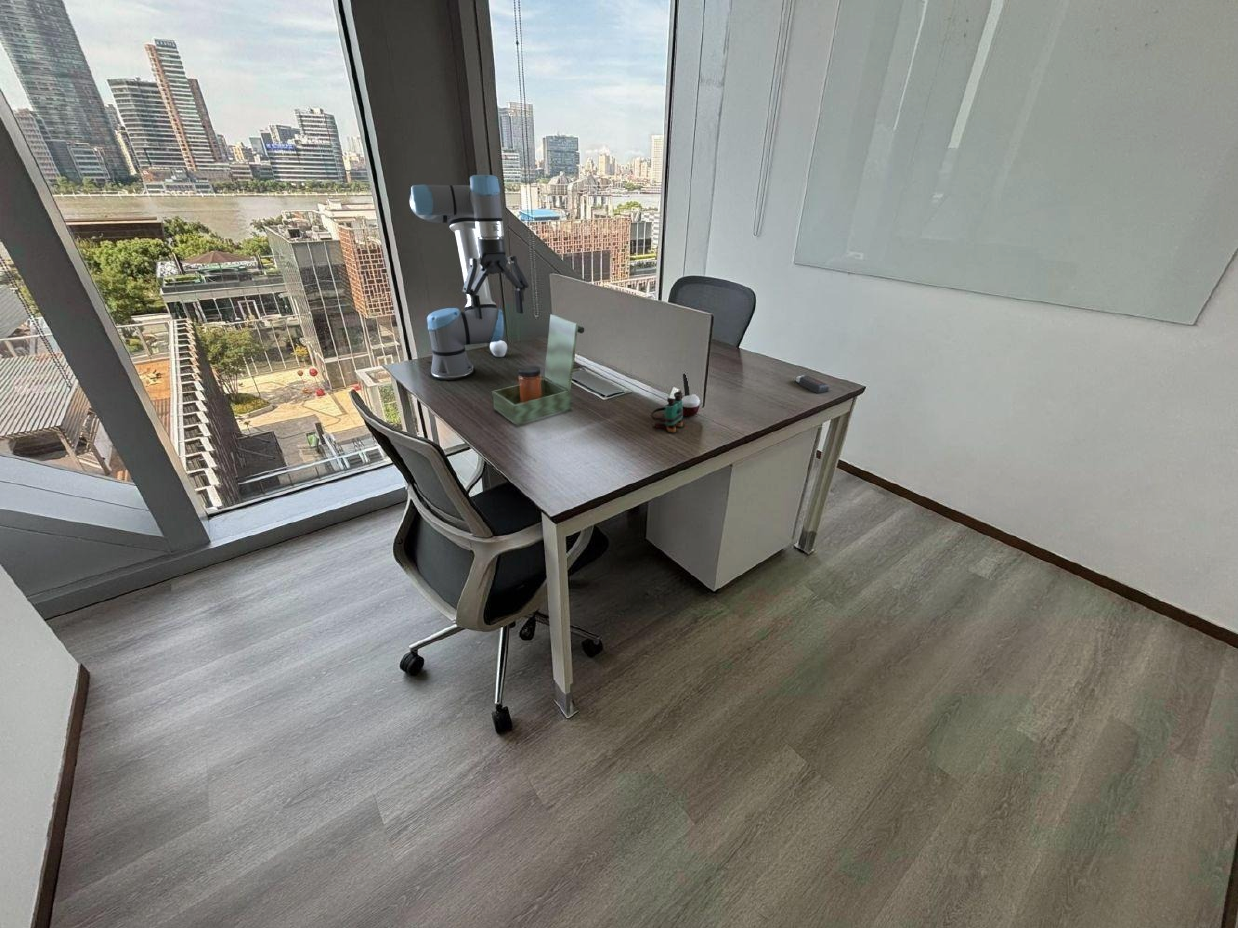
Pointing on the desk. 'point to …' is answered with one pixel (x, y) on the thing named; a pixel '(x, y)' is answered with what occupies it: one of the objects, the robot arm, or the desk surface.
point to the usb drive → (812, 384)
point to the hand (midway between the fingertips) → (499, 315)
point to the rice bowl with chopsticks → (689, 401)
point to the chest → (531, 402)
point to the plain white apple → (498, 348)
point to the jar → (530, 383)
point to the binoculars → (670, 414)
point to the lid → (561, 350)
